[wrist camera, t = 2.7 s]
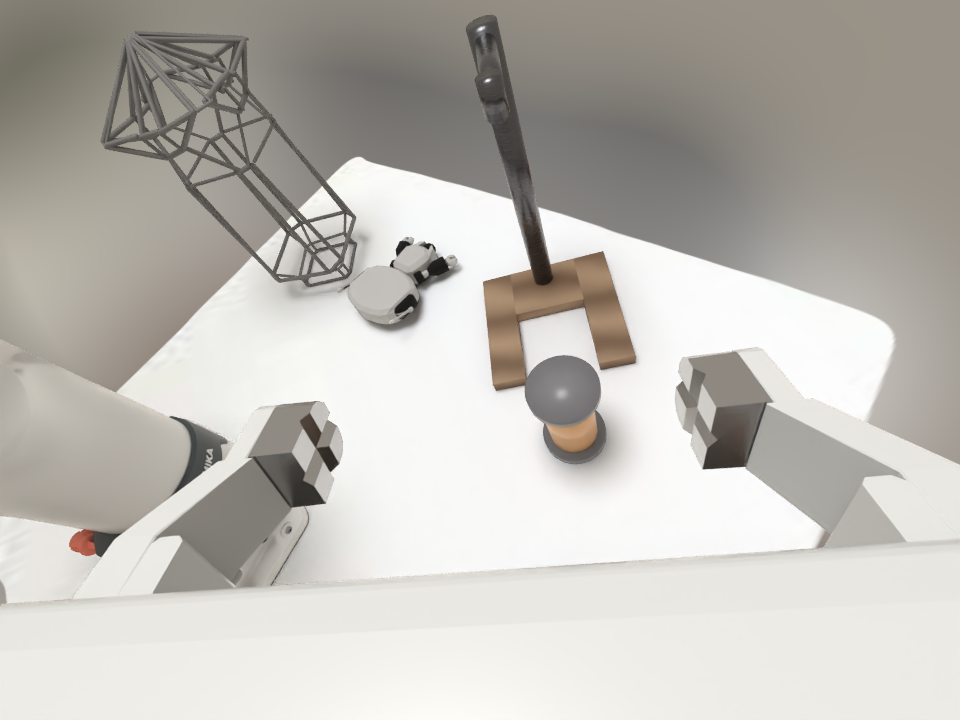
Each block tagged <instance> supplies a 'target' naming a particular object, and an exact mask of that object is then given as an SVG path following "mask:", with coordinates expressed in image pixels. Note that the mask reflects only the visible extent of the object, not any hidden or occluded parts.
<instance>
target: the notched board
mask: <svg viewBox="0 0 960 720" xmlns="http://www.w3.org/2000/svg"><path fill="white" fill-rule="evenodd" d="M551 270H552V274H553V279H552V281H551V282H550V283H549V284H547V285H538V284H536V283H535V280H534V277H533V273H532V270H527V271H523V272H519V273H515V274H511V275H507V276H503V277H499V278H495V279H491V280H488V281H484V282H483V286H484V297H485V307H486V317H487V328H488V338H489V349H490V359H491V369H492V380H493V386H494V387H495V389H496V390H501V389H506V388H511V387H516V386H521V385H525V384H526V380H527V376H526V369H525V362H524V356H523V349H522V342H521V335H520V328H519V321H523V320H528V319H532V318H536V317H541V316H545V315H549V314H554V313H558V312H563V311H567V310H571V309H576V308H580V307H584V306H585V310H586V314H587V318H588V322H589V326H590V330H591V333H592V337H593V341H594V345H595V349H596V353H597V357H598V361H599V365H600V369H601V370H602V369H607V368H612V367H617V366H622V365H627V364H632V363H635V358H636V356H635V353H634V349H633V346H632V343H631V340H630V336H629V333H628V330H627V327H626V324H625V320H624V317H623V314H622V311H621V307H620V304H619V301H618V298H617V294H616V291H615V288H614V285H613V282H612V278H611V275H610V272H609V269H608V265H607V262H606V259H605V256H604V253H603V251H602V252H598V253H594V254H590V255H586V256H583V257H579V258H575V259H571V260H567V261H563V262H559V263H555V264H551Z"/></svg>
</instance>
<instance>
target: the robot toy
mask: <svg viewBox="0 0 960 720" xmlns="http://www.w3.org/2000/svg"><path fill="white" fill-rule="evenodd" d="M413 242H414V239H413V238H412V237H410V238H409V237H405V238H404V239H403V241H400V242H399V244H398V246H397V248H396V255H397V258H396V259H395V260H392V262H391V264H390V267H387V266H374V267H370V268H367V269H366V270H365V271H364V272H362V273H361V274H360V275H359V276H358V277H357V278H356V279H355V280H354V281H353V282H351V283H349V284H347V285H345V286H344V287H342V288H339V289H337V291H336V292H341V291H342V290H343V289H345V288H347V287H349V289H348V298H349V300H350V301H351V303H352V304H353V305H354V307H355V308H356V310H357V311H358V312H359V313H360V314H361V315H362V316H363V317H364V318H365V319H368V320H370V321H373V322H376V323H380V324H393V323H396V322H399V321H400V320H401V319H404V318H405V317H406V316H407V315H408V314H409V313H411V312H412V311H414V310H413V309H414V308H415V307H416V305H417V303H418V299H419V293H418V290H417V288H416V286H415V284H419V283H421V282H423V281H424V280H425V278H427V277H428V276H429V275H434V276H439V275H441V274H443V273H445V272H447V271H449V268H448V266H454V265H455V264H456V263H457V258H456V257H455V256H454V255H450V256H448V257H447V258H446V259H445V260H444V258H443V257H440V258H437V256H436V253H435V252H436V249H435V246H434V245H433V244H431V243H427V244H426V243H425V242H418V243H417V244H415V245H412V244H413Z"/></svg>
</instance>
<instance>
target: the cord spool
mask: <svg viewBox="0 0 960 720" xmlns="http://www.w3.org/2000/svg"><path fill="white" fill-rule="evenodd" d="M525 397H526V401H527V403H528V405H529V408H530V410H531V411H532V413H533V414H534V415H535V416H536V417H537V418H538V419H539V420H540V421H542V422H544V423H545V424H544V428H543V436H544V440H545V443H546V445H547V447H548V449H549V451H550V452H551V453H552V454H553V455H554V456H555V457H556V458H558V459H559V460H561V461H563V462H566V463H571V464H580V463H585V462H588V461H590V460H592V459H593V458H595V457H596V456H597V455H598V454H599V453H600V452H601V450H602V449H603V447H604V444H605V441H606V428H605V424H604V421H603V419H602V417H601V416H600V414H599V413H598V412H597V411H596V409H597V407H598V405H599V402H600V398H601V387H600V381H599V377H598V375H597V373H596V371H595V370H594V369H593V367H592V366H591V365H590V364H588V363H587V362H586V361H584V360H582V359H580V358H577V357H574V356H565V355H563V356H555V357H551V358H549V359H546V360H544V361H543V362H541V363H539V364H538V365H537V366H536V367H535V368H534V369H533V370H532V371H531V373H530V374H529V376H528V378H527V380H526V384H525Z"/></svg>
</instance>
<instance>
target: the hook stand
mask: <svg viewBox="0 0 960 720" xmlns="http://www.w3.org/2000/svg"><path fill="white" fill-rule="evenodd" d="M466 32H467V36H468V39H469V43H470V47H471V50H472V54H473V58H474V61H475V65H476V69H477V72H478V75H477V77H476V78H475V83H476V87H477V90H478V94H479V97H480V101H481V104H482V108H483V111H484V115H485V119H486V121H487V122H489V123H491V124H492V126H493V130H494V134H495V138H496V141H497V145H498V149H499V153H500V156H501V160H502V164H503V167H504V171H505V175H506V178H507V182H508V185H509V189H510V193H511V196H512V200H513V204H514V207H515V211H516V215H517V218H518V222H519V226H520V229H521V233H522V237H523V240H524V244H525V248H526V251H527V255H528V259H529V262H530V266H531V270H532V273H533V277H534V280H535V283H536V284H538V285H547V284H549V283H550V282H551V281H552V279H553V274H552V270H551V265H550V261H549V256H548V251H547V247H546V242H545V238H544V233H543V228H542V224H541V219H540V215H539V210H538V206H537V201H536V196H535V192H534V187H533V183H532V178H531V174H530V169H529V165H528V160H527V155H526V150H525V146H524V141H523V137H522V132H521V127H520V123H519V118H518V114H517V109H516V105H515V100H514V95H513V91H512V86H511V82H510V77H509V73H508V68H507V64H506V59H505V54H504V49H503V45H502V40H501V36H500V31H499V27H498V23H497V18H496V16H494V15H486V16H482V17H479V18H477V19H475V20H473V21H472V22H470V23H469V24H468V25H467V27H466Z"/></svg>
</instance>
